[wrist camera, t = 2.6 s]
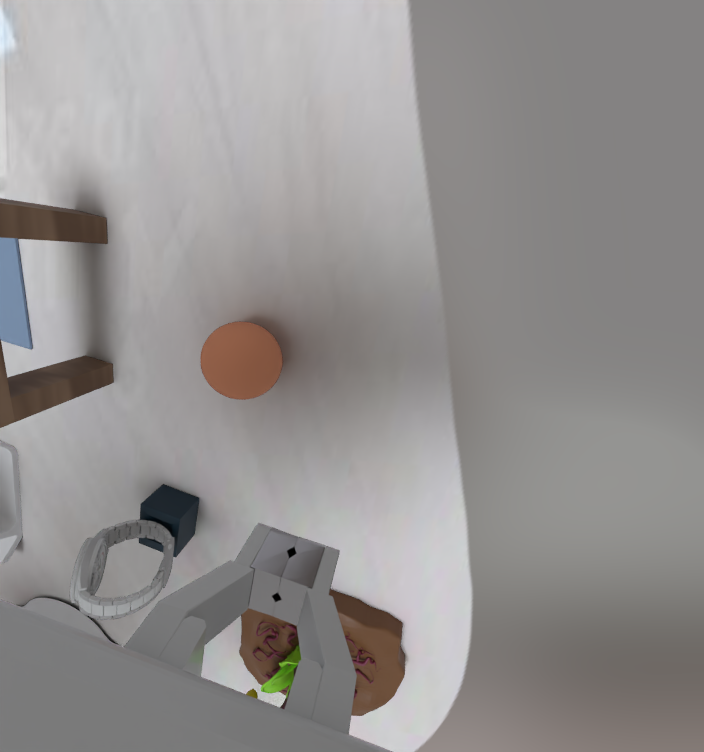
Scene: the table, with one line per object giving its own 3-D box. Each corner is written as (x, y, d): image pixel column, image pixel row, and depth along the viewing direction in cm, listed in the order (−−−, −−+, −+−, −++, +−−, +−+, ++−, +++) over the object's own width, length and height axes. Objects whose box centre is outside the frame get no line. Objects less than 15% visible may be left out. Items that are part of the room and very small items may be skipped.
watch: (146, 477, 36) (39, 565, 25) (214, 503, 35) (131, 603, 25) (144, 515, 38) (43, 610, 27) (208, 540, 37) (129, 646, 27)
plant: (385, 709, 42) (375, 856, 32) (244, 662, 44) (192, 785, 34) (421, 605, 35) (424, 750, 25) (251, 555, 37) (188, 669, 27)
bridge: (106, 218, 27) (-52, 195, 18) (113, 382, 32) (-5, 429, 23) (74, 209, 27) (-98, 183, 18) (86, 374, 32) (-41, 417, 23)
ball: (287, 391, 29) (256, 422, 23) (224, 373, 29) (180, 399, 24) (298, 326, 27) (268, 343, 21) (231, 307, 27) (183, 319, 22)
